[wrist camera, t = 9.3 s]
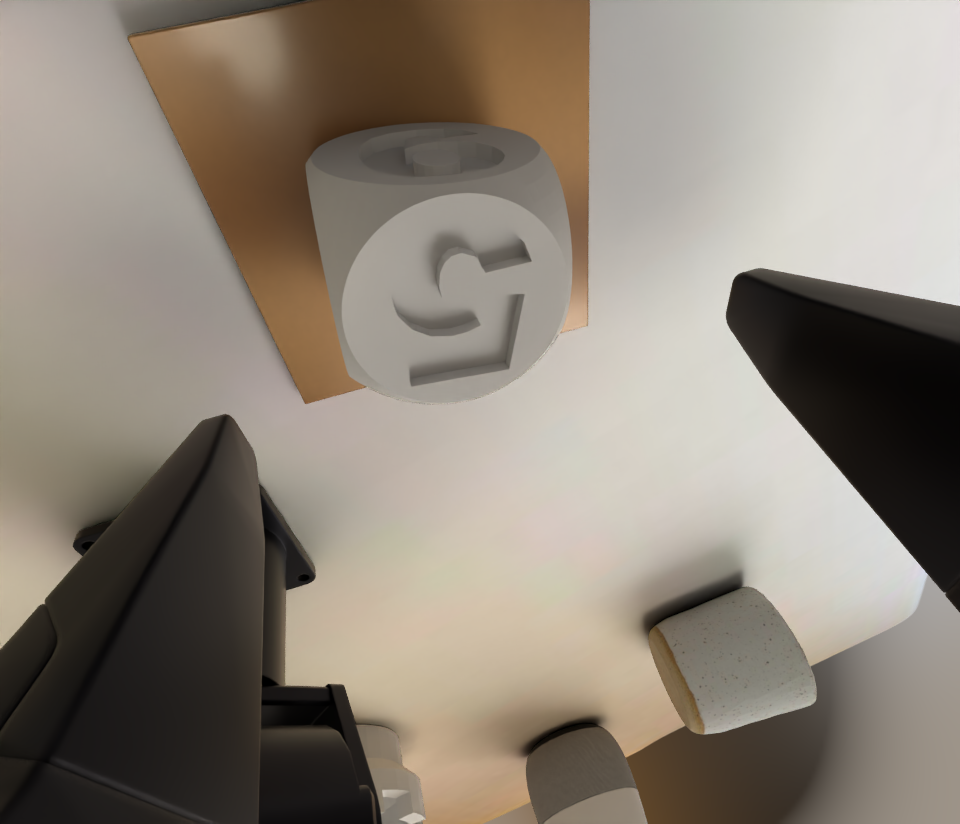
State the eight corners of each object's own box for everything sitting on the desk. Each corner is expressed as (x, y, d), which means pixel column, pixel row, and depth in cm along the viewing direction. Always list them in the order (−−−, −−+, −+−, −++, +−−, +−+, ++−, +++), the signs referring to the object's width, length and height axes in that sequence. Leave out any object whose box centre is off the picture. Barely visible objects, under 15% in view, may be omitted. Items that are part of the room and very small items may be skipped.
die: (342, 316, 16) (358, 425, 12) (302, 130, 12) (306, 201, 9) (502, 292, 16) (563, 386, 13) (504, 114, 13) (587, 171, 10)
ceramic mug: (637, 613, 35) (702, 735, 30) (747, 566, 35) (833, 680, 30) (645, 664, 43) (699, 770, 37) (737, 625, 43) (804, 726, 37)
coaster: (583, 320, 19) (588, 326, 18) (304, 397, 17) (305, 405, 17) (583, -53, 12) (590, -53, 12) (129, 34, 11) (125, 36, 10)
